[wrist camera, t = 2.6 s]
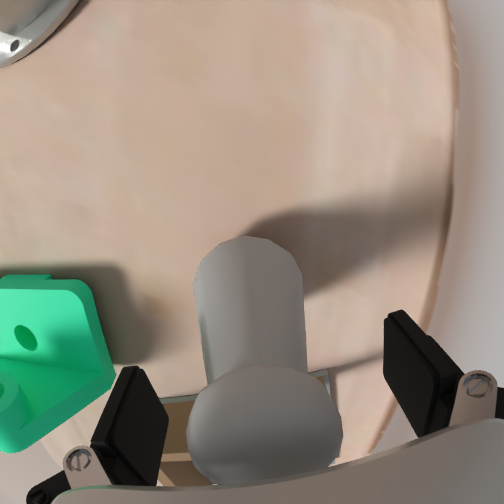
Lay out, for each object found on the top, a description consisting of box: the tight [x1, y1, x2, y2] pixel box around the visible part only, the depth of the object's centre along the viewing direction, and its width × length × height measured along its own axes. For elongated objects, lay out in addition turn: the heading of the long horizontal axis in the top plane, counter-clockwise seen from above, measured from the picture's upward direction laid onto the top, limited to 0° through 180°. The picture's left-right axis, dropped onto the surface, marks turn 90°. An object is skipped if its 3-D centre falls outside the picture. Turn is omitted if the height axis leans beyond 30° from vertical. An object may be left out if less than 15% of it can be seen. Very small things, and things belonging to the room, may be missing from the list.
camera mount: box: [0, 274, 116, 453], centre depth 14 cm, size 12×8×10 cm, turn 91°
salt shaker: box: [186, 235, 343, 485], centre depth 12 cm, size 6×6×13 cm
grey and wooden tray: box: [158, 369, 335, 486], centre depth 21 cm, size 14×14×6 cm
